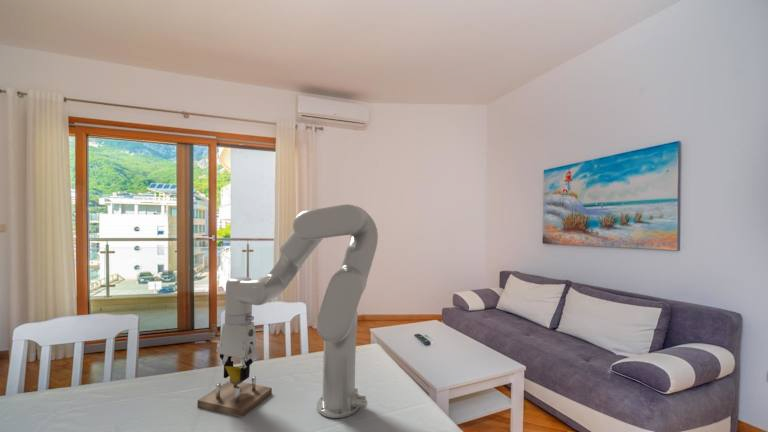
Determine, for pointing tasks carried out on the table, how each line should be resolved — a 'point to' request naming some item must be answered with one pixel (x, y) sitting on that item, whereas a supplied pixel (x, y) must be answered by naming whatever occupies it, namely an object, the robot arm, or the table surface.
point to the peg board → (235, 397)
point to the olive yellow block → (234, 374)
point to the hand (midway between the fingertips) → (236, 377)
